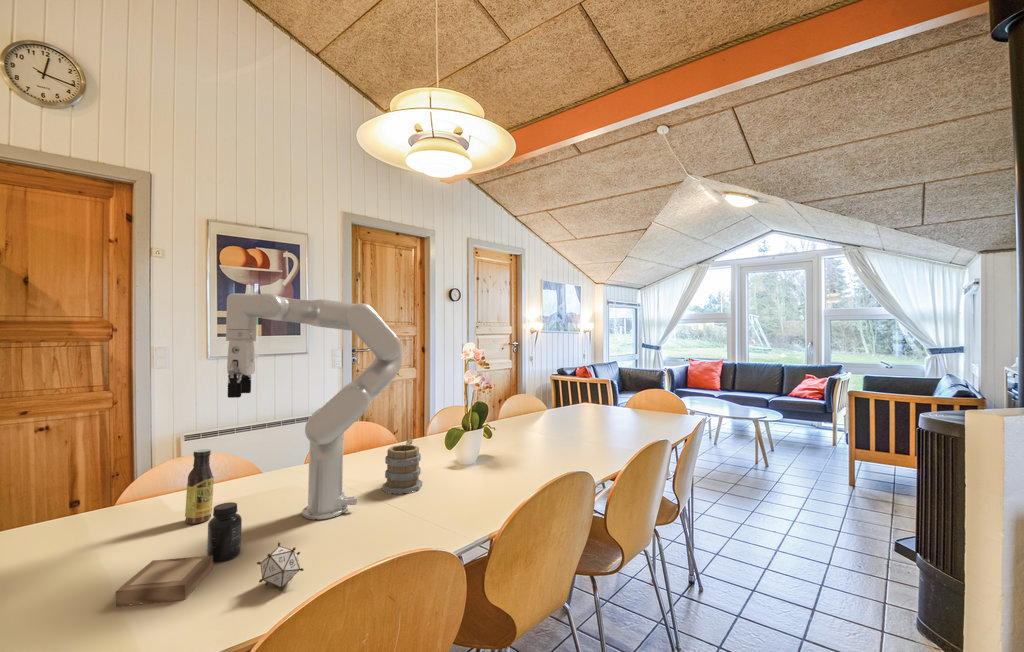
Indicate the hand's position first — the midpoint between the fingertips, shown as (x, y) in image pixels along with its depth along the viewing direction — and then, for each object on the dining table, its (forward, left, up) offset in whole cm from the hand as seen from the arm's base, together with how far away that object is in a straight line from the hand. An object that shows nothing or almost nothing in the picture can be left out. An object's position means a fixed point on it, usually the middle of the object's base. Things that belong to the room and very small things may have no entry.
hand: (239, 395), depth 127 cm
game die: (-23, +38, -36) cm, 57 cm away
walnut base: (0, +34, -36) cm, 50 cm away
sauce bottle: (+10, -2, -36) cm, 38 cm away
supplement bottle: (-6, +22, -36) cm, 43 cm away
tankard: (-47, -23, -36) cm, 63 cm away
